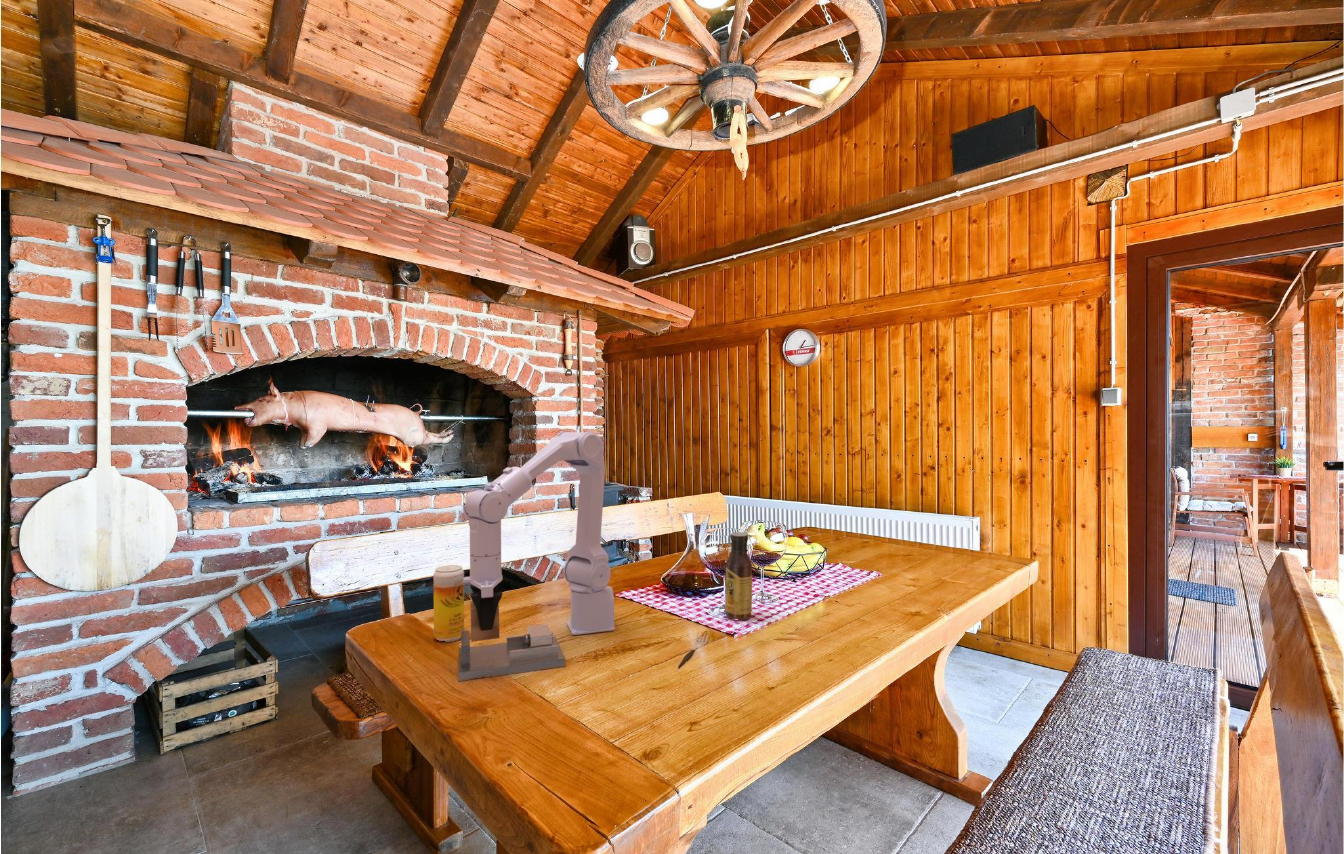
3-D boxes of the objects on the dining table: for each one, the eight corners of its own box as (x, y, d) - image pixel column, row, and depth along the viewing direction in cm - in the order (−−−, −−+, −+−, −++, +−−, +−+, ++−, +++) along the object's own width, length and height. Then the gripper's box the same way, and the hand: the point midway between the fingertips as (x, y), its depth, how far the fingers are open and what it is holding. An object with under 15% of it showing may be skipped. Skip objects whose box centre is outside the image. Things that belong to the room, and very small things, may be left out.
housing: (497, 628, 117) (497, 592, 117) (499, 638, 112) (498, 600, 112) (470, 632, 115) (470, 595, 115) (471, 641, 110) (470, 603, 110)
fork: (671, 669, 112) (671, 658, 112) (698, 639, 127) (698, 630, 127) (684, 671, 111) (684, 660, 111) (709, 641, 126) (709, 632, 126)
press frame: (555, 643, 124) (555, 617, 124) (564, 666, 113) (564, 637, 113) (458, 655, 118) (458, 628, 118) (458, 681, 106) (458, 650, 106)
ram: (547, 641, 120) (547, 624, 120) (552, 652, 115) (551, 634, 115) (522, 644, 119) (522, 626, 119) (525, 655, 113) (525, 637, 113)
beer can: (454, 644, 124) (453, 572, 124) (428, 641, 125) (427, 570, 125) (469, 633, 130) (469, 565, 130) (444, 631, 131) (444, 563, 131)
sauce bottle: (723, 613, 143) (723, 530, 143) (748, 612, 144) (748, 530, 143) (728, 622, 137) (727, 536, 136) (754, 621, 137) (754, 535, 137)
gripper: (463, 547, 119) (463, 614, 119) (463, 564, 105) (463, 640, 105) (500, 544, 121) (500, 611, 121) (504, 560, 108) (505, 635, 108)
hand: (486, 624), depth 114 cm, fingers closed on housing, 5 cm apart
